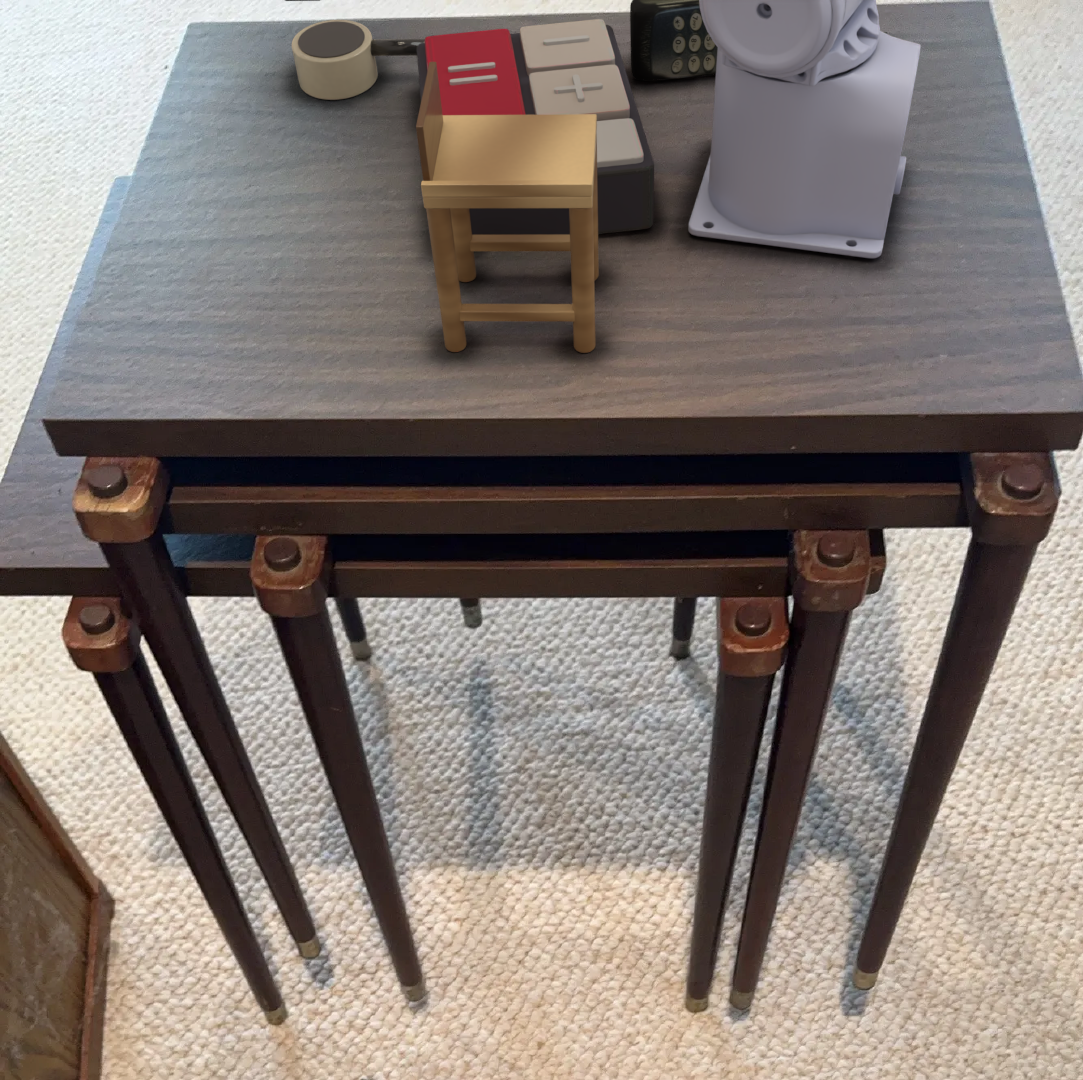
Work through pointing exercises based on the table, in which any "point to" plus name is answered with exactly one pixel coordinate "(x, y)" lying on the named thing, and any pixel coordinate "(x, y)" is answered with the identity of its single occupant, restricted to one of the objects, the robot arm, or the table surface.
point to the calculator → (551, 111)
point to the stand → (459, 244)
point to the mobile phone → (670, 40)
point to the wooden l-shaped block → (503, 157)
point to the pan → (342, 58)
